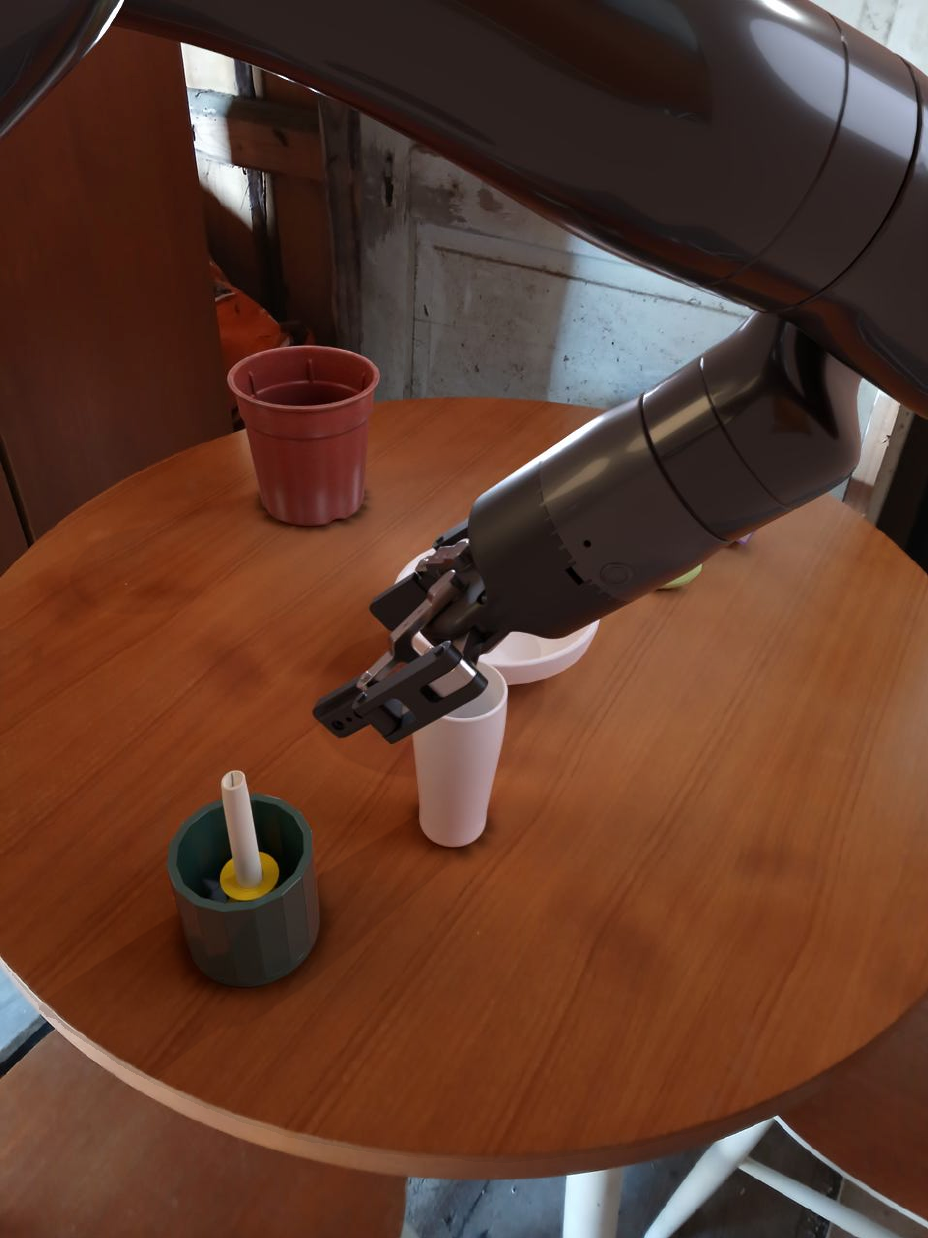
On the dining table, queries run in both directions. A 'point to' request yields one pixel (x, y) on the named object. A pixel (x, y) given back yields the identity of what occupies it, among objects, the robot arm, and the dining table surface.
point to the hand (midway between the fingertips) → (355, 666)
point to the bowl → (522, 647)
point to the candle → (244, 846)
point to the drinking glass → (461, 764)
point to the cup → (254, 930)
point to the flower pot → (307, 429)
